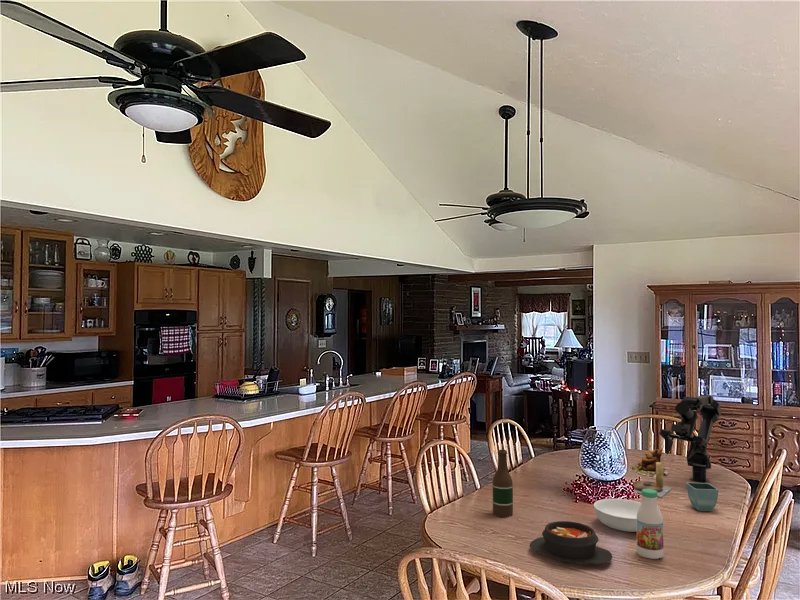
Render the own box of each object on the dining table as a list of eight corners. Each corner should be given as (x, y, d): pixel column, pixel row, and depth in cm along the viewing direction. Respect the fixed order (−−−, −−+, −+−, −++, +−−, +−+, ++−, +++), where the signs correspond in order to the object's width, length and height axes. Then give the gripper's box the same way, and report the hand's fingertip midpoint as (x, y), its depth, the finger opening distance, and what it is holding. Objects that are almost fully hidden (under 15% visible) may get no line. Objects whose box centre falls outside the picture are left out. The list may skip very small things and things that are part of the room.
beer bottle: (515, 512, 220) (515, 449, 221) (510, 519, 213) (510, 453, 214) (495, 509, 223) (495, 447, 224) (489, 515, 216) (489, 451, 217)
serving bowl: (628, 542, 191) (627, 521, 191) (581, 522, 210) (581, 503, 210) (670, 532, 201) (670, 511, 201) (622, 513, 219) (621, 495, 219)
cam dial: (630, 489, 246) (630, 462, 246) (634, 482, 257) (633, 456, 257) (662, 493, 240) (661, 466, 240) (664, 486, 250) (664, 460, 251)
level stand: (634, 482, 260) (634, 480, 260) (672, 489, 249) (672, 487, 249) (621, 490, 247) (621, 488, 247) (661, 498, 237) (661, 496, 237)
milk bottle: (632, 549, 185) (631, 487, 186) (655, 549, 186) (654, 486, 186) (644, 560, 178) (643, 494, 178) (668, 559, 178) (667, 493, 179)
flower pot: (709, 505, 228) (709, 482, 228) (719, 513, 219) (719, 489, 219) (686, 505, 229) (685, 482, 229) (695, 512, 220) (694, 489, 220)
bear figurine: (648, 467, 285) (648, 442, 286) (673, 475, 271) (673, 449, 272) (627, 470, 280) (627, 445, 280) (652, 478, 266) (651, 452, 266)
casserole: (618, 554, 182) (617, 527, 182) (605, 577, 166) (604, 547, 166) (540, 538, 195) (540, 513, 195) (521, 558, 179) (521, 530, 179)
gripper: (659, 411, 258) (648, 444, 253) (701, 419, 243) (690, 454, 238) (670, 422, 263) (659, 454, 259) (712, 430, 248) (701, 464, 244)
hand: (677, 456), depth 250 cm, fingers open, 9 cm apart
